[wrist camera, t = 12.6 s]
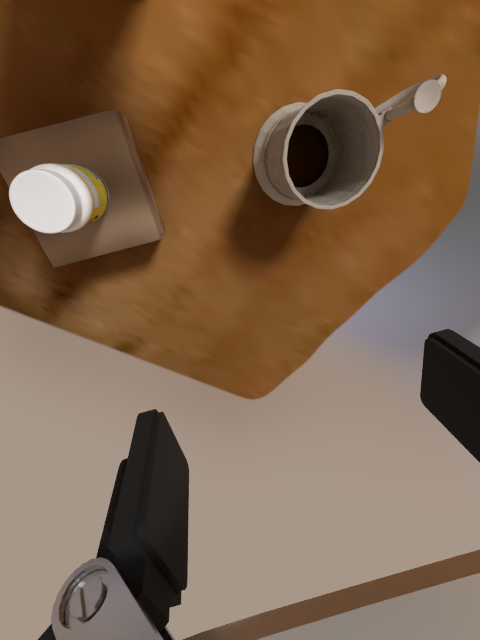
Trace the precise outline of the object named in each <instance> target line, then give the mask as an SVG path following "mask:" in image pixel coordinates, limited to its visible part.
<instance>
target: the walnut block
mask: <svg viewBox="0 0 480 640" xmlns="http://www.w3.org/2000/svg"><path fill="white" fill-rule="evenodd" d="M48 163H53V164H77V165H82V166H85V167H88V168H90V169H92V170H93V171H95V172H96V173H97V174H98V175H99V176H100V177H101V178H102V179H103V181H104V182H105V184H106V186H107V189H108V192H109V205H108V208H107V210H106V212H105V213H104V214H103V215H102V216H101V217H100V218H98V219H96V220H95V221H93V222H91V223H89V224H87V225H86V226H84V227H82V228H80V229H78V230H76V231H72V232H67V233H61V232H59V233H53V234H49V233H42V232H39V231H36V230H34V229H32V230H33V232H34V233H35V235H36V237H37V239H38V241H39V242H40V244H41V246H42V248H43V250H44V251H45V253H46V255H47V257H48V259H49V260H50V262H51V264H52V266H53V268H55V267H59V266H63V265H67V264H70V263H74V262H78V261H82V260H85V259H89V258H93V257H97V256H100V255H104V254H108V253H112V252H115V251H119V250H123V249H126V248H130V247H134V246H138V245H141V244H145V243H149V242H153V241H156V240H160V239H161V238H162V236H163V234H164V231H165V228H164V225H163V222H162V220H161V217H160V214H159V211H158V208H157V205H156V202H155V199H154V196H153V193H152V191H151V188H150V185H149V182H148V179H147V176H146V173H145V170H144V167H143V164H142V162H141V159H140V156H139V153H138V150H137V147H136V144H135V141H134V138H133V135H132V133H131V130H130V127H129V124H128V121H127V118H126V117H125V116H124V115H122V114H121V113H120V112H118V111H117V110H116V109H111V110H107V111H103V112H99V113H95V114H92V115H88V116H84V117H80V118H76V119H72V120H68V121H65V122H61V123H57V124H53V125H49V126H45V127H41V128H38V129H34V130H30V131H26V132H22V133H18V134H14V135H11V136H7V137H3V138H0V172H1V174H2V176H3V178H4V179H5V181H6V183H7V185H8V187H9V188H10V185H11V183H12V181H13V179H14V178H15V177H16V176H17V175H18V174H20V173H21V172H24V171H27V170H29V169H31V168H33V167H35V166H38V165H41V164H48Z"/></svg>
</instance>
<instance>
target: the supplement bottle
mask: <svg viewBox="0 0 480 640" xmlns="http://www.w3.org/2000/svg"><path fill="white" fill-rule="evenodd" d="M9 199H10V203H11V206H12V208H13V210H14V212H15V214H16V215H17V216H18V218H19V219H20V220H21V221H22V222H23V223H24V224H26V225H27V226H29V227H30V228H32V229H34V230H36V231H39V232H42V233H49V234H53V233H59V232H61V233H67V232H72V231H76V230H78V229H80V228H82V227H84V226H86V225H87V224H89V223H91V222H93V221H95V220H96V219H98V218H100V217H101V216H102V215H103V214H104V213H105V212H106V210H107V208H108V205H109V192H108V189H107V186H106V184H105V182H104V181H103V179H102V178H101V177H100V176H99V175H98V174H97V173H96V172H95V171H93V170H92V169H90V168H88V167H85V166H82V165H77V164H53V163H48V164H41V165H38V166H35V167H33V168H31V169H29V170H27V171H24V172H21V173H20V174H18V175H17V176H16V177H15V178H14V179H13V181H12V183H11V185H10V189H9Z"/></svg>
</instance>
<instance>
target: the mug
mask: <svg viewBox="0 0 480 640" xmlns="http://www.w3.org/2000/svg"><path fill="white" fill-rule="evenodd" d="M446 81H447V79H446V76H445V75H437V76H433V77H431V78H428V79H426V80H424V81H421V82H419V83H417V84H415V85H413V86H411V87H409V88H407V89H406V90H404V91H402V92H400V93H399V94H397V95H395V96H394V97H392V98H390V99H389V100H387V101H386V102H384V103H382V104H381V105H379V106H378V107H376V108H375V109H374V107H373V106H372V105H371V103H370V102H369V101H368V99H366V98H364V97H363V96H361V95H359V94H358V93H356V92H354V91H349V90H340V89H335V90H332V91H329V92H325V93H322V94H319V95H317V96H316V97H315V98H313V99H312V100H311V101H309V102H308V103H300V102H297V103H293V104H290V105H287V106H283V107H282V108H280V109H279V110H278V111H276V112H275V113H274V114H272V115H271V116H270V117H269V118H268V119H267V121H266V122H265V124H264V125H263V126H262V128H261V129H260V131H259V134H258V137H257V139H256V142H255V145H254V155H253V165H254V170H255V175H256V179H257V180H258V182H259V184H260V186H261V188H262V190H263V191H264V192H265V193H266V194H267V195H268V196H269V197H270V198H271V199H273V200H274V201H277V202H279V203H281V204H284V205H290V206H300V205H303V204H307V205H309V206H312V207H314V208H317V209H334V208H338V207H341V206H345V205H347V204H348V203H350V202H351V201H353V200H354V199H356V198H357V197H359V196H360V195H361V194H362V193H363V192H364V190H365V189H366V188H367V187H368V186H369V185H370V184H371V182H372V180H373V178H374V176H375V174H376V172H377V170H378V168H379V166H380V162H381V158H382V154H383V149H384V140H383V128H382V126H383V125H386V124H387V123H389V122H390V121H392V120H393V119H396V118H398V117H401V116H403V115H405V114H407V113H409V112H410V111H412V110H414V109H416V110H417V111H418V112H419V113H427V112H429V111H431V110H432V109H433V108H434V107H435V106H436V105H437V103H438V102H439V99H440V96H441V90H442V89H443V87H444V86H445V84H446ZM414 95H415V96H414ZM412 96H414V97H413V98H412V99H410V100H409V101H407V102H405V103H403V104H401V105H400V106H397V107H395V108H393V107H394V106H396V105H398V104H399V103H401V102H403V101H405V100H407V99H408V98H410V97H412ZM392 108H393V109H392ZM302 124H303V125H311V126H313V127H315V128H317V129H319V130H320V132H321V133H322V134H323V135H324V136H325V139H326V141H327V144H328V151H329V157H328V162H327V166H326V168H325V170H324V172H323V174H322V175H321V176H320V178H319V179H318V180H317V181H315V182H314V183H312V184H311V185H309V186H305V187H295V186H294V184H293V182H292V180H291V178H290V176H289V171H288V164H287V152H288V144H289V140H290V137H291V134H292V132H293V129H294V127H295V126H299V125H302Z"/></svg>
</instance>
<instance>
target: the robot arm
mask: <svg viewBox="0 0 480 640" xmlns="http://www.w3.org/2000/svg"><path fill="white" fill-rule="evenodd" d="M420 397H421V401H422V403H423V404H424V406H425V407H426V408H427V409H428V410H429V411H430V412H431V413H432V414H433V415H434V416H435V417H436V418H437V419H438V420H439V421H440V422H441V423H442V424H443V425H444V426H445V427H446V428H447V429H448V431H449V432H450V433H451V434H452V435H453V436H454V437H455V438H456V439H458V441H459V442H460V443H461V444H462V445H463V446H464V447H465V448H466V449H467V450H468V451H469V452H470V453H471V454H472V455H473V456H474V457H475V458H476V459H477V460H478V461H479V462H480V347H478V346H476V345H475V344H473V343H472V342H470V341H468V340H467V339H465V338H463V337H462V336H460V335H459V334H457V333H456V332H454V331H452V330H450V329H446V330H442V331H439V332H434V333H431V334H430V335H429V337H428V339H426V340H425V346H424V358H423V369H422V381H421V393H420ZM188 500H189V467H188V463H187V460H186V458H185V456H184V454H183V452H182V450H181V448H180V446H179V444H178V442H177V439H176V437H175V435H174V433H173V431H172V429H171V427H170V425H169V423H168V421H167V419H166V417H165V415H164V413H163V412H160V413H158V411H157V410H156V409H154V410H151V411H147V412H143V413H140V414H138V417H137V420H136V425H135V429H134V433H133V438H132V442H131V447H130V451H129V456H128V458H127V459H124V460H123V461H122V462H121V463H120V466H119V469H118V473H117V477H116V481H115V485H114V489H113V493H112V497H111V501H110V505H109V509H108V513H107V517H106V521H105V525H104V529H103V533H102V537H101V541H100V545H99V549H98V553H97V557H96V559H91V560H89V561H88V562H86V563H84V564H82V565H81V566H80V567H79V568H77V569H76V570H75V571H74V572H73V573H72V574H71V575H70V577H69V578H68V579H67V580H66V581H65V583H64V585H63V586H62V588H61V590H60V591H59V593H58V595H57V598H56V600H55V603H54V606H53V610H52V617H51V621H52V624H51V625H50V626H49V628H47V630H46V631H45V632H44V633H43V634H42V635H41V637H40V638H39V639H38V640H175V639H174V637H173V636H172V634H171V633H170V631H169V630H168V628H167V627H166V625H167V623H168V621H169V608H170V607H173V606H177V605H180V604H181V591H182V590H185V589H186V587H187V563H188ZM183 640H480V550H477V551H474V552H470V553H467V554H463V555H460V556H456V557H452V558H449V559H446V560H443V561H439V562H435V563H432V564H428V565H425V566H421V567H418V568H414V569H411V570H407V571H404V572H401V573H397V574H394V575H390V576H387V577H383V578H380V579H376V580H373V581H370V582H366V583H363V584H359V585H356V586H352V587H349V588H346V589H342V590H339V591H335V592H332V593H329V594H325V595H322V596H319V597H315V598H312V599H308V600H305V601H301V602H298V603H295V604H291V605H288V606H284V607H281V608H278V609H274V610H271V611H268V612H264V613H261V614H258V615H255V616H252V617H249V618H245V619H242V620H239V621H236V622H233V623H229V624H226V625H223V626H220V627H217V628H214V629H211V630H207V631H204V632H202V633H199V634H196V635H194V636H191V637H189V638H186V639H183Z"/></svg>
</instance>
